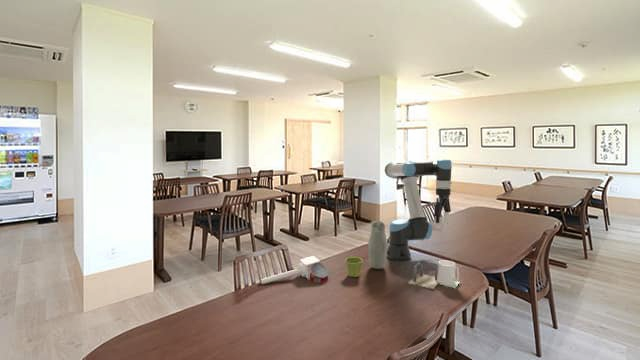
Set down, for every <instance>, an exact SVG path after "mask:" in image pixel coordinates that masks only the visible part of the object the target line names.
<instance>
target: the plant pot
mask: <svg viewBox="0 0 640 360" xmlns="http://www.w3.org/2000/svg"><path fill="white" fill-rule="evenodd" d="M345 263H346V267H347V273H348V277H350V278H351V277H352V278H357V277H359V276H360V275H361V266H362V263H363V259H362V258H361V257H356V256H355V257H353V256H351V257H347V258H345Z"/></svg>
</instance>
